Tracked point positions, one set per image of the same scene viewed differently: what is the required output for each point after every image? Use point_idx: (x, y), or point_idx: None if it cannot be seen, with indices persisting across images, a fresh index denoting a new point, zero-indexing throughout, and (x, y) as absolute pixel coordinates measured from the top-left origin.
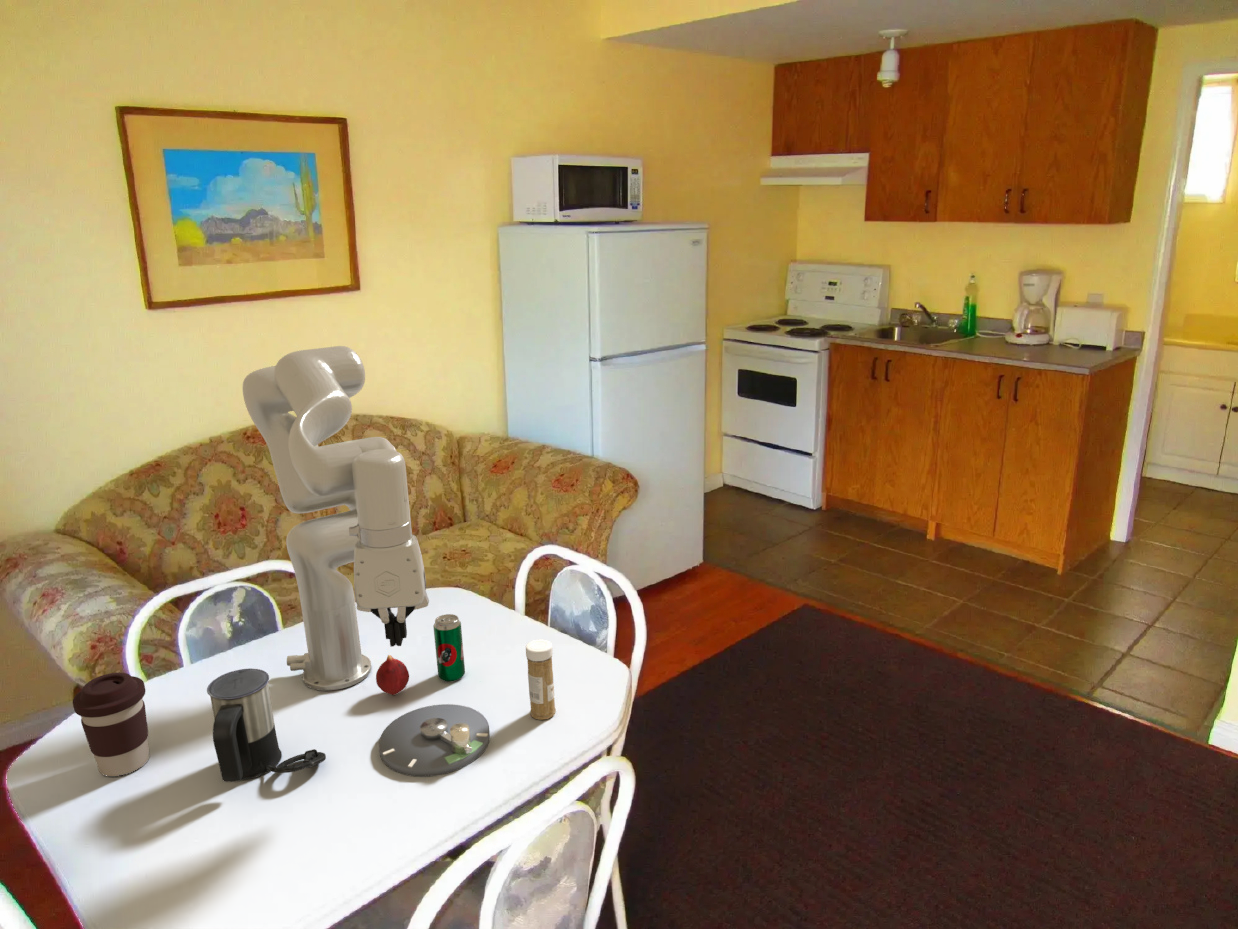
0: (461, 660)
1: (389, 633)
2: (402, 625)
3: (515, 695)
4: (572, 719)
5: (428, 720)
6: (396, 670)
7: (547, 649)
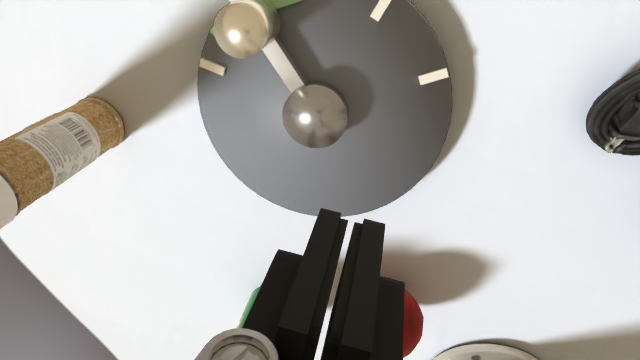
0: (243, 316)
1: (374, 284)
2: (261, 318)
3: (158, 201)
4: (41, 80)
5: (325, 144)
6: None
7: None
